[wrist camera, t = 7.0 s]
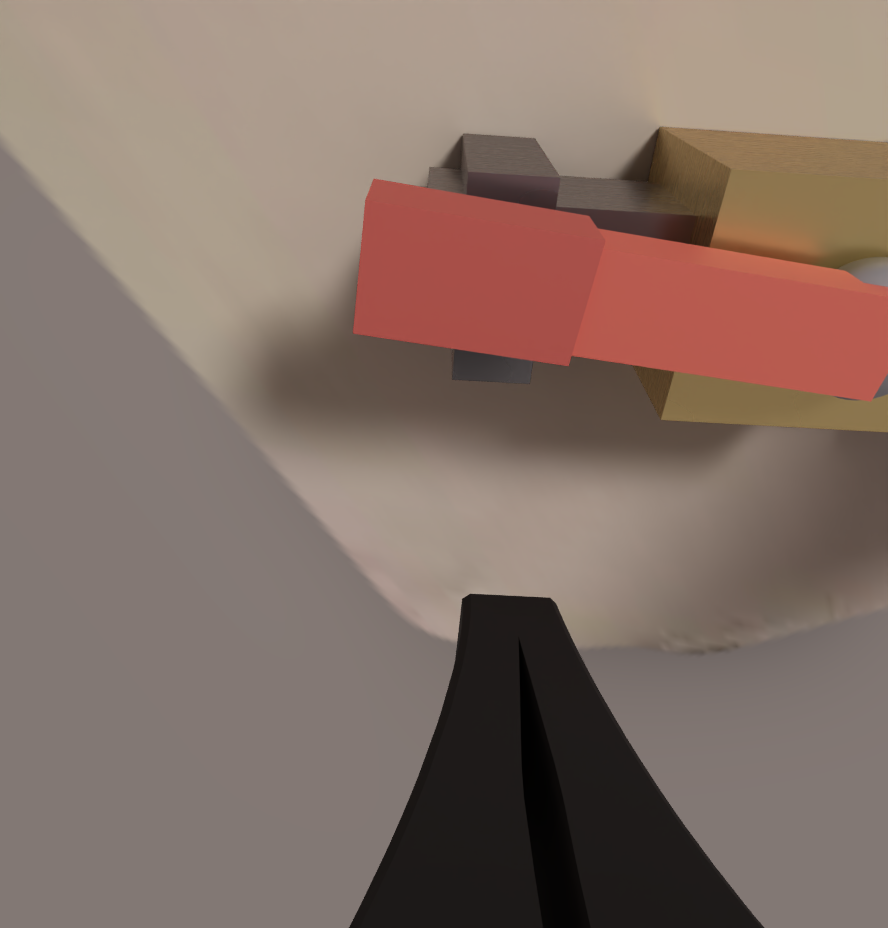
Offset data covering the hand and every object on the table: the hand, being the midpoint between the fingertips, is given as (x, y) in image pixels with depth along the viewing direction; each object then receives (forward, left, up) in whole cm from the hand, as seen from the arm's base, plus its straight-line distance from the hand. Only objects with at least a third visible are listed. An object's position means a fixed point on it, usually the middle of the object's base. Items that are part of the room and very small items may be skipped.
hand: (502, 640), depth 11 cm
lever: (-3, -4, -5) cm, 7 cm away
